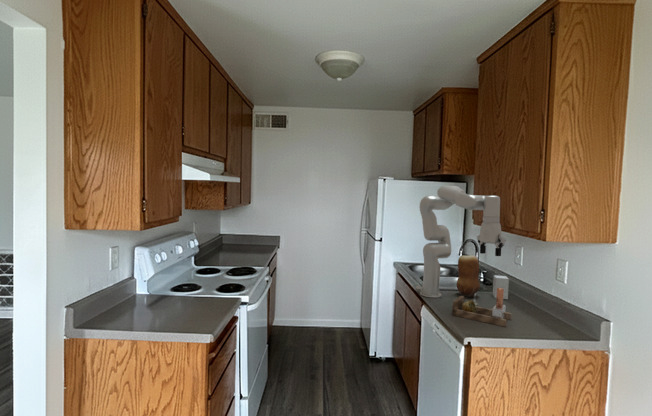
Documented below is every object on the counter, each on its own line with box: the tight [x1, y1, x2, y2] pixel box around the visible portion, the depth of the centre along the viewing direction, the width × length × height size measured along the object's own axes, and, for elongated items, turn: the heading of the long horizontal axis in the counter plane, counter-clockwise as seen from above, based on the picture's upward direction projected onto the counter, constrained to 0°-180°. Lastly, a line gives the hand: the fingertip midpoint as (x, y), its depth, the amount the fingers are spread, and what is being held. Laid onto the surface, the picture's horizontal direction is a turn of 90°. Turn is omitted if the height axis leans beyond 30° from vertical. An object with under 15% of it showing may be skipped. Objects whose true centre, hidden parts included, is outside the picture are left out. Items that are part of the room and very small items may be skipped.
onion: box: [461, 299, 479, 313], centre depth 193 cm, size 8×8×8 cm
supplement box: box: [492, 274, 510, 300], centre depth 229 cm, size 7×7×13 cm
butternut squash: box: [456, 255, 481, 298], centre depth 228 cm, size 14×13×25 cm
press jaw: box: [492, 288, 506, 319], centre depth 185 cm, size 4×10×15 cm, turn 145°
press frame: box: [451, 295, 512, 328], centre depth 190 cm, size 25×14×7 cm, turn 55°
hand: (490, 254), depth 188 cm, fingers open, 9 cm apart
